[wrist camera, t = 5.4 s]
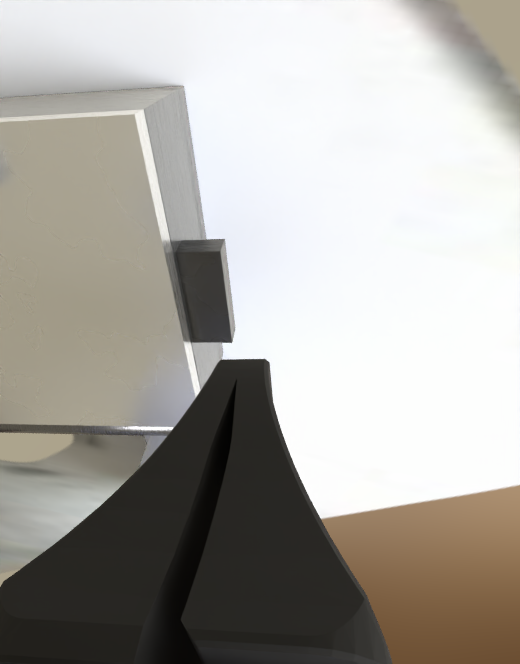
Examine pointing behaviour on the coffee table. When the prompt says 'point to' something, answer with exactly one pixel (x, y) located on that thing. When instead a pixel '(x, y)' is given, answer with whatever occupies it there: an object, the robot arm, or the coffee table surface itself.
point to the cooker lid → (88, 281)
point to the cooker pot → (167, 205)
